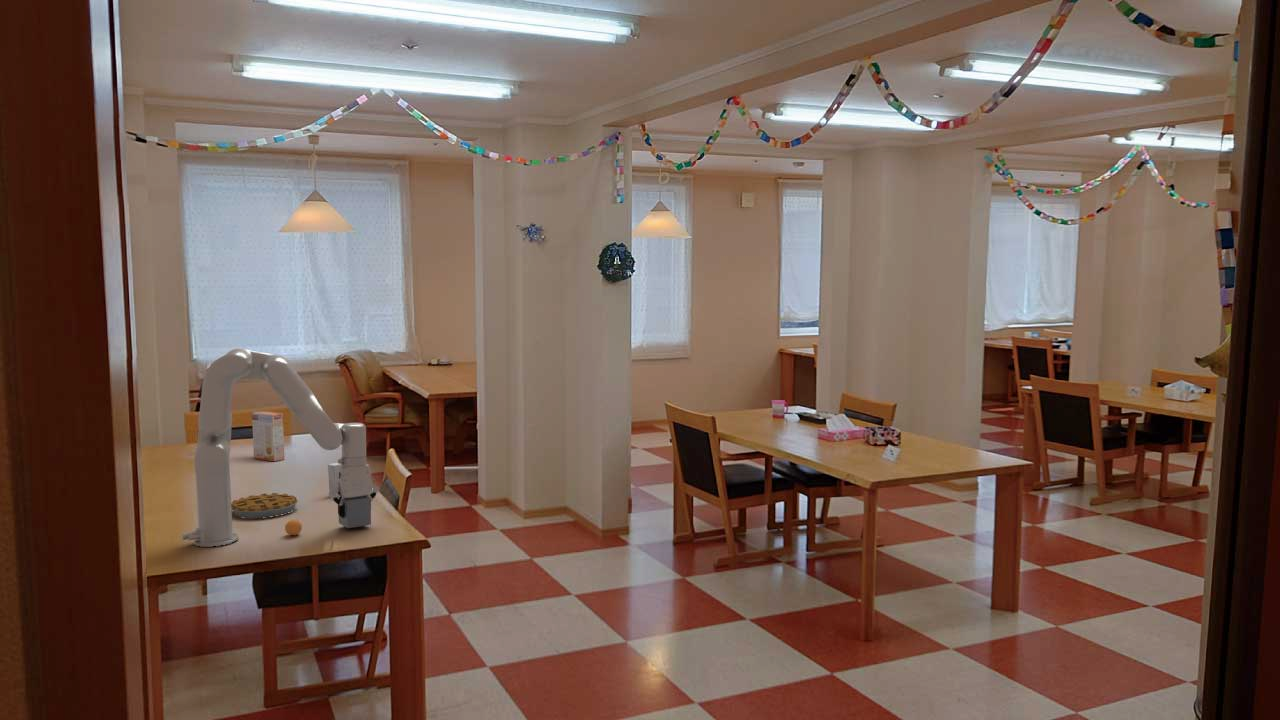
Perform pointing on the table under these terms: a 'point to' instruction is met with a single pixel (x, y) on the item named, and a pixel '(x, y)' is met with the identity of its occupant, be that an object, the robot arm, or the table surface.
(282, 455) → the cracker box
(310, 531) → the table surface
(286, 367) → the robot arm
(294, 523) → the ball
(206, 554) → the table surface
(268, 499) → the pie
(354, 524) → the rounded grey cube
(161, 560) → the table surface
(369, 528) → the table surface
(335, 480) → the skincare box
